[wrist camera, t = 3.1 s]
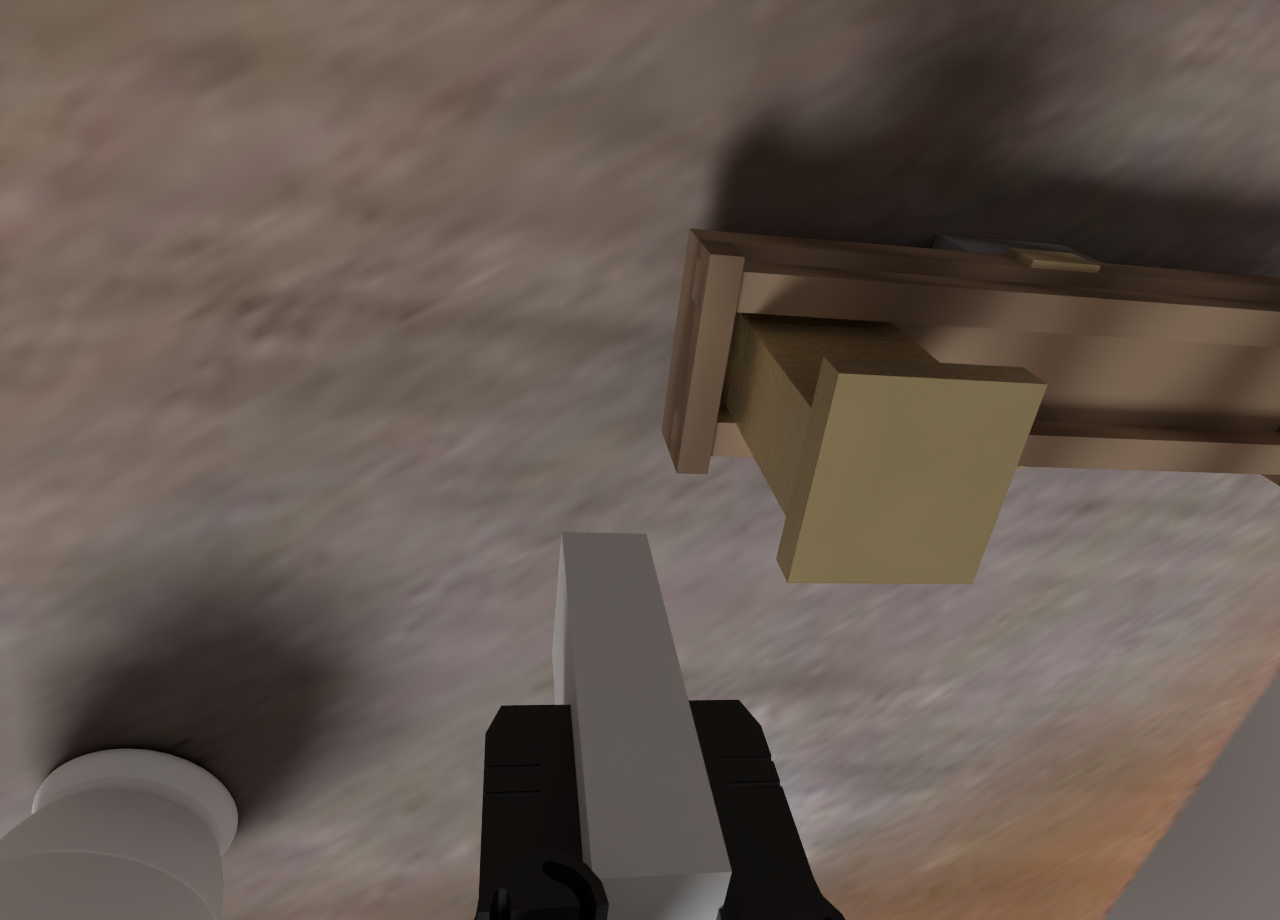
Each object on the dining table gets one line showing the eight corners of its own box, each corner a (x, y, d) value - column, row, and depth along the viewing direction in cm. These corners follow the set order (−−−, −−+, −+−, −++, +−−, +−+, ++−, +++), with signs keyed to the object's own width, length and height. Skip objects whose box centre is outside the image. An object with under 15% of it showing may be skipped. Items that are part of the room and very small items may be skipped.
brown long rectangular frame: (650, 406, 31) (676, 479, 26) (676, 203, 27) (711, 245, 22) (1198, 430, 35) (1307, 497, 30) (1282, 257, 31) (1420, 302, 27)
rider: (716, 435, 27) (787, 583, 20) (745, 269, 24) (838, 373, 17) (857, 440, 28) (972, 583, 21) (900, 280, 25) (1047, 384, 18)
